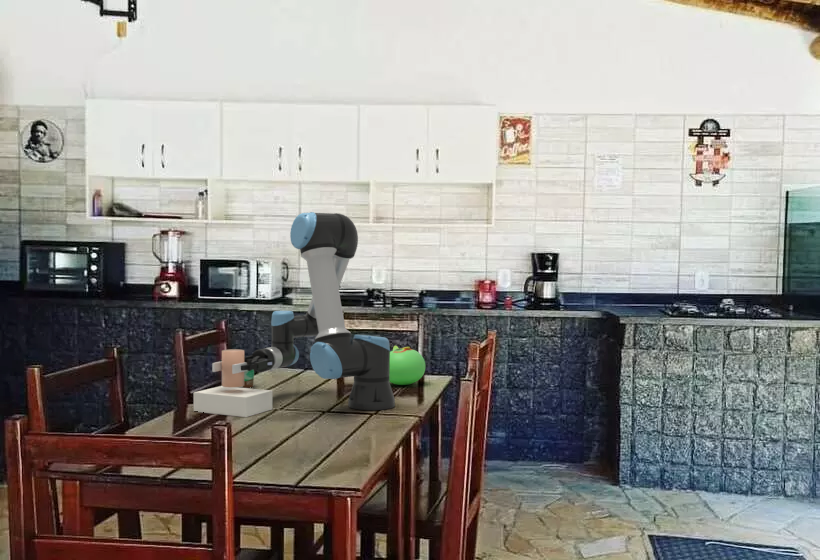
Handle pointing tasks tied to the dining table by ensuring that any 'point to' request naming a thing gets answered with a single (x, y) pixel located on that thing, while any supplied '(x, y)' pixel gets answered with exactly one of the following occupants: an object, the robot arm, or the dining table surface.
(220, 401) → the cream riser
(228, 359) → the terracotta canister
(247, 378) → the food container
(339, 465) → the dining table surface
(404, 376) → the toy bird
